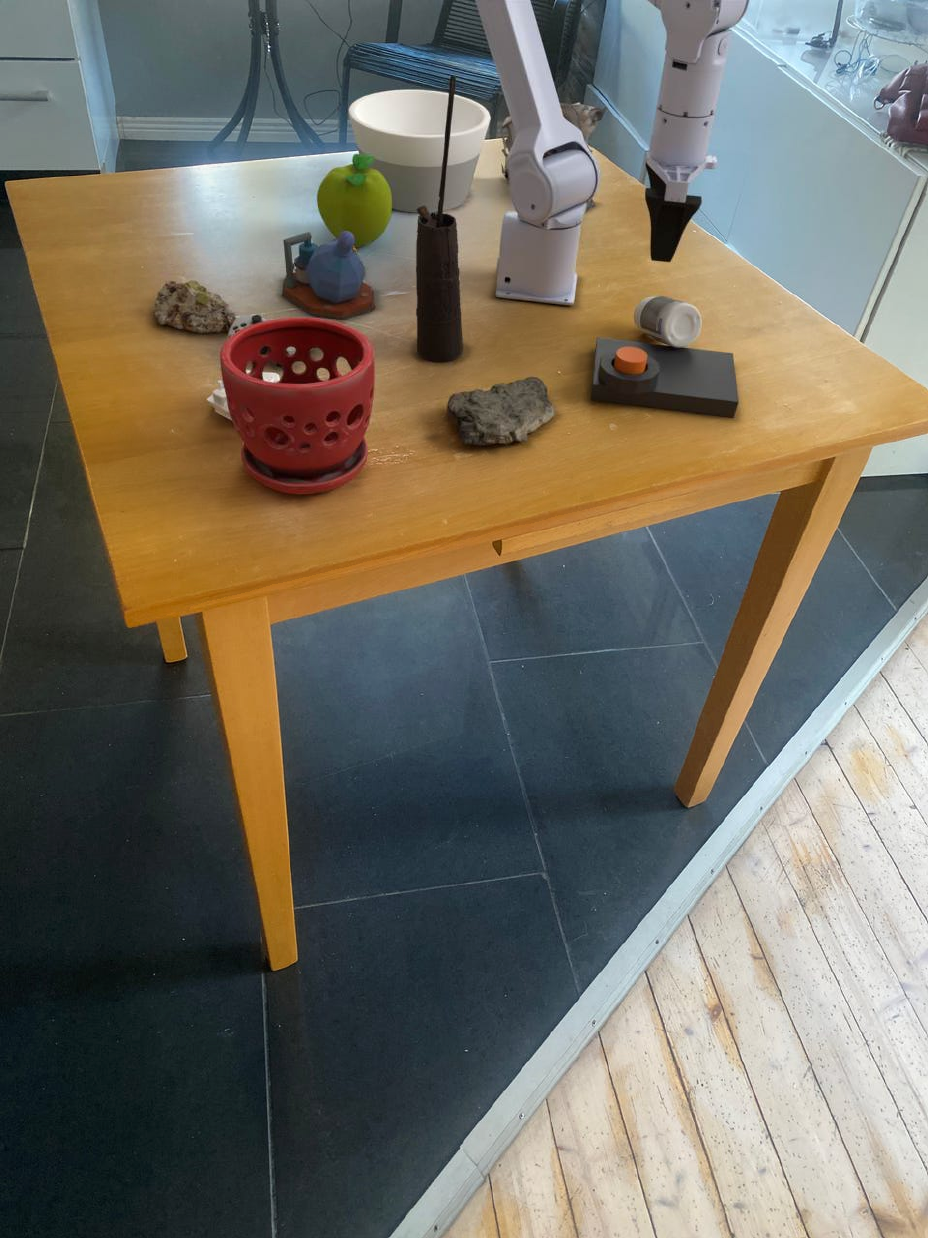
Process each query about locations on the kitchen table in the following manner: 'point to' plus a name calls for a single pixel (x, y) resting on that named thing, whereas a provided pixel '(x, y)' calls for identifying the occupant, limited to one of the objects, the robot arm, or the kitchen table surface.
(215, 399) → the toy car
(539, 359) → the kitchen table surface
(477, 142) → the bowl
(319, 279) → the model
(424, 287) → the butter churn
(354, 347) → the plant pot
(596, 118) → the jagged grey brown piece
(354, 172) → the fruit
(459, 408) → the stone
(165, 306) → the mineral rock
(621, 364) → the button
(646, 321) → the pill bottle
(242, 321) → the game controller
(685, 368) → the grey push button box
